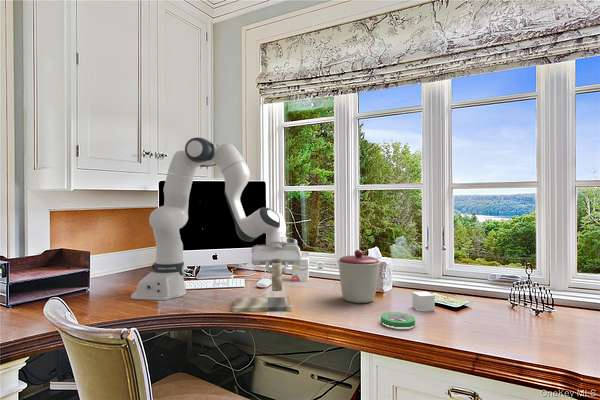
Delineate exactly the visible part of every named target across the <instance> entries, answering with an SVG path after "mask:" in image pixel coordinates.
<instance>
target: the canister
mask: <svg viewBox="0 0 600 400" xmlns="http://www.w3.org/2000/svg"><path fill="white" fill-rule="evenodd" d="M336 262H337V263H338V271H339V280H340V287H341V295H342V297H343V299H344V300H345V301H347V302H350V303H356V304H367V303H370V302H373V300H374V299H375V297H376V293H377V287H378V285H377V284H378V278H379V269H380V265H381V261H380V260H379V259H378V258H376V257H374V256H369V255H368V256H367V255H364V252H363V250H361V249H356V250H355V251H354V254H353V255H345V256H344V255H343V256H342V257H340V258H339V259H337V260H336Z"/></svg>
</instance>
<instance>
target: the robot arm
mask: <svg viewBox="0 0 600 400" xmlns="http://www.w3.org/2000/svg"><path fill="white" fill-rule="evenodd" d="M214 166H217V167H218V169H219V170H220V171H221V174H222V176H223V178H224V191H223V192H224V196H225V200H226V202H227V204H228V208H229V210H230V214H231V216H232V220H233V221H234V222H233V223H234V225H235V231H236V235H237V236H238V238H239V239H240V240H242V241H244V242H248V243H249V242H250V243H251V242H253V241H254V240H255V239H257V238H258V237H260V236H261V235H263V234H265V235H266V237H265V244H255V245H253V246H252V247H251V252H250V253H252V254H251V264H252V265H253V266H265V268H266V270H267V271H268V272H267V273H268V274H271V275H272V267H271V266H272V259H282V274H287V273H286V270H287V269H288V268H289V266H292V265H299V264H300V263H301V260H302V257H301V255H302V254H301V252H302V251H301V248H300V246H299V245H298V240H297V239H295V238H291V237H287V235H286V234H287V224H286V220H285V217H284V215H283V214H282V212H278V211H274V209H272V208H269V207H264V206H263V207H261V208H258V209H257V210H255V211H254V212H252V214H249V215H248V216H246V213H245V211H244V208H243V205H242V202H241V197H242V194H243V191H244V189H245V188H246V186H247V185H248V183H249V181H250V177H251V172H250V168H249V167H248V164H247V162H246V161H245V159H244V157H243V156H242V154H241V153H240V151H239V150H238V149H237V148H236V147H235V145H234V144H232V143H228V142H227V143H222V144H220V145H218V144H216V143H214V142H213V141H211V140H208V139H205V138H203V137H199V136H198V137H191V138H190V139H189V140H188V141H186V144H185V146H184V150H178V151H176V152H175V153H173V156H172V159H171V161H170V163H169V167H168V169H167V173H166V178H165V182H164V186H163V190H162V191H163V196H164V197H163V198H164V199H163V200H164V202H163V205H161V206H158V207H156V208H155V209H154V210H153V211H151V213H150V215H149V217H148V220H149V224H150V227H151V228H152V231H153V236H154V240H155V252H156V253H155V254H156V255H155V260H156V261H155V262H154V263H152V265H150V270H151V271H150V272H149V273H148V274H147V275H146V276H144V277H142V279H140V281H139V282H138V283H137V287H136V291H134V292H132V293H131V295H130V299H131V300H145V301H146V300H150V301H153V300H154V301H168V300H171V299H175V298H180V297H183V296H185V295H186V294H187V290H186V286H185V279H184V275H185V274H184V273H185V261H184V244H183V241H182V239H181V238H182V237H181V234H180V229H182V228H184V227H185V226H186V225H187V222H188V221H189V204H190V203H189V200H190V193H191V189H192V186H193V185H192V184H193V181H194V178H195V173H196V170H197V168H198V167H200V168H205V167H208V168H209V167H214ZM283 266H284V267H283Z"/></svg>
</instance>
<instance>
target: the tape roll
mask: <svg viewBox="0 0 600 400" xmlns="http://www.w3.org/2000/svg"><path fill="white" fill-rule="evenodd" d="M391 319H403V320H406V321H399V320H391ZM381 322H382V323H384V324H386V325H389V326H394V327H411V326H414V325H415V326H416V318H415V317H414V316H413V315H412V314H409V313H405V312H400V311H399V312H398V311H397V312H396V311H389V312H384V313H382V314H381V315H380V323H381Z"/></svg>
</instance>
